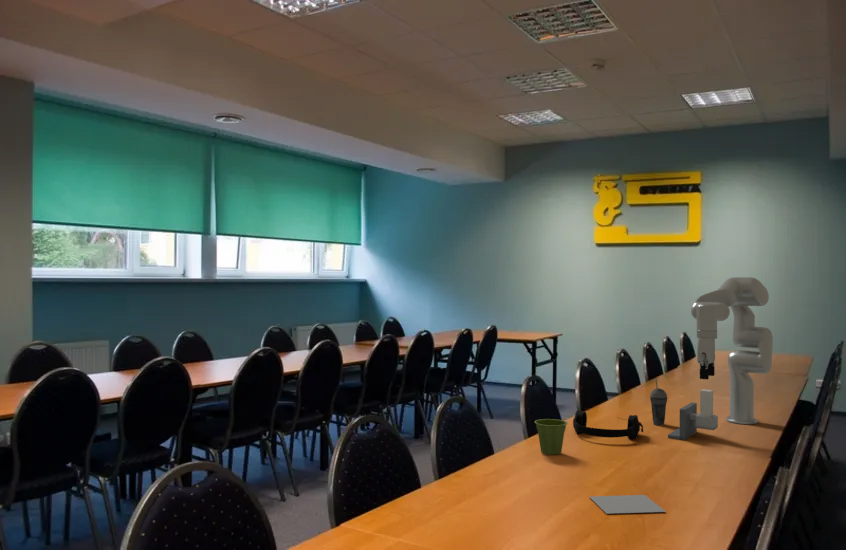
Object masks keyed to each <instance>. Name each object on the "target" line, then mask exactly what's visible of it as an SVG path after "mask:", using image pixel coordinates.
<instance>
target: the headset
mask: <svg viewBox="0 0 846 550" xmlns="http://www.w3.org/2000/svg"><path fill="white" fill-rule="evenodd" d="M575 411H576V412H575V415H574V417H573V420H572V427H573V429H574V431H575V434H576V435H578V434H580V435H582V434H583V435H586V436H591V437H592V436H593V437H598V438H607V439H609V438H610V439H611V438H623V437H627V439H631V440H636V439H637V438H638V436H639V433H640V432H641V433H644V426H643V424H642V422H641V421H639V417H638V415H637V414H634V415H632V414H629V416H628V418H627V419H626V418H624V420H625V421H626V420H627V428H626V429H625V428H624V429H609V428H608V429H607V428H597V427H590V426H587V421H588V415H587V414H588V413H587V412H586V411H584V410H575ZM618 419H619V420H620V419H621V420H622V418H620V417H618Z"/></svg>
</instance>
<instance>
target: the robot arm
mask: <svg viewBox="0 0 846 550" xmlns="http://www.w3.org/2000/svg"><path fill="white" fill-rule="evenodd" d="M769 298H770V297H769V292H768V289H767V288H766V287H765V285H764V284H763V283H762V282H761V281H760V280H758V279H757V278H755V277H751V276H750V277H749V276H748V277H743V276H741V277H740V276H739V277H734V276H733V277H729V278H728V279H726V280H725V281H724V282H723V283H722V284H721V285H720V286H719V288H718V289H717V290H713V291H710V292H707V293H704V294H701V295H700V296H698V297H697V299H696V300H695V301H694V302H693V304H692V306H691V309H690V312H691V316H692V317H693V319H694V320H696V338H697V349H696V350H697V356H696V357H697V358H696V362H697V364H699V379H700V380H709V377H715V375H716V373H715V371H716V369H715V361H716V342H715V341H716V340H717V339H718V322H722V321H726V320H727V319H728V318H729V317H730V309H731V311H732V314H733V329H732V341H733V345H734V346H736V347H739V348H747V349H758V350H759V351H754V350H742V349H740V350H738V349H737V350H732V351H730V352H729V353H728V355H727V365H728V369H729V415H728V416H726V418H725V419H726V422H729V423H733V424H740V425H755V424H758V419H757V418H754V417H755V416H754V415H755V413H754V408H755V407H754V406H755V403H754V402H755V399H754V398H755V397H754V395H755V393H754V391H755V388H754V386H755V385H754V384H755V383H754V380H753V379H752V377H751V375H750V374H759V375H761V374H762V375H763V374H764V375H766V374H768V373H770V372H771V369H772V365H773V364H772V362H773V347H774V345H773V344H774V339H773V332H772V331H771V329H769V328H768V327H764V326H756V324H755V323H756V321H755V319H756V316H755V313H754V312H753V310H752V309H751V308H750V307H764V306H766V305H767V304H768V302H769Z"/></svg>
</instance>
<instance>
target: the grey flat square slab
mask: <svg viewBox="0 0 846 550" xmlns="http://www.w3.org/2000/svg"><path fill="white" fill-rule="evenodd" d="M589 498H590V499H591V500H592V501H593V503H595V505H597V506H598V507H599V508H600V509H601V510H602V511H603V512H604V513H605V514H609V515H610V514H633V513H634V514H636V513H637V514H639V513H641V514H642V513H663V512H664V513H667V511H666V510H665V509H664V508H662V507H661V506H659V505H658V503H655V502H654V500H652V499H651V498H650V497H648V496H647V495H646V494H633V495H632V494H631V495H629V494H628V495H599V496H597V495H594V496H592V495H591V496H589Z"/></svg>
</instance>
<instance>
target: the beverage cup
mask: <svg viewBox="0 0 846 550" xmlns="http://www.w3.org/2000/svg"><path fill="white" fill-rule="evenodd" d="M654 380H655V388H654V389H653V390H651V393H650V395H649V396H650V397H649V399H650V404H651V413H652V415H651V417H652V425H655V426H664V425H665V420H666V410H667V403H668V399H669V398H668V395H667V394H668V393H667V392H666V391H665V390H664V389H663V388H659V387H658V382H657V378H655V379H654Z"/></svg>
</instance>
